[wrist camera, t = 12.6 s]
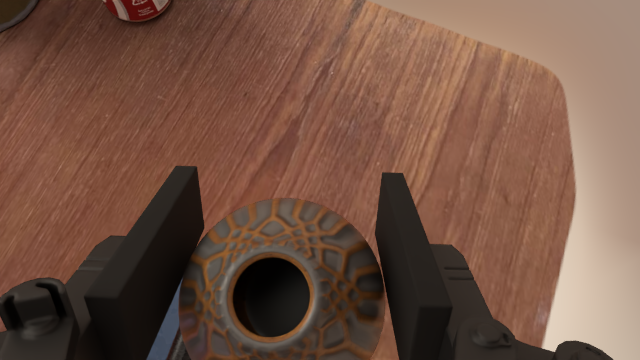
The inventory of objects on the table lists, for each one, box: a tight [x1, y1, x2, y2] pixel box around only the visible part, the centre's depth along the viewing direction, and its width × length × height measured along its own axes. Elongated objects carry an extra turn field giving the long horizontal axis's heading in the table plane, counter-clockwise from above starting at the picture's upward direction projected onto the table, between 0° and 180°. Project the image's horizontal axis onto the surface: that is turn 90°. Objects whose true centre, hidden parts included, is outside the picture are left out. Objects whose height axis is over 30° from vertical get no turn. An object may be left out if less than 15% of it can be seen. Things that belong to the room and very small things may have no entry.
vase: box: [178, 198, 385, 360], centre depth 14 cm, size 7×7×9 cm
